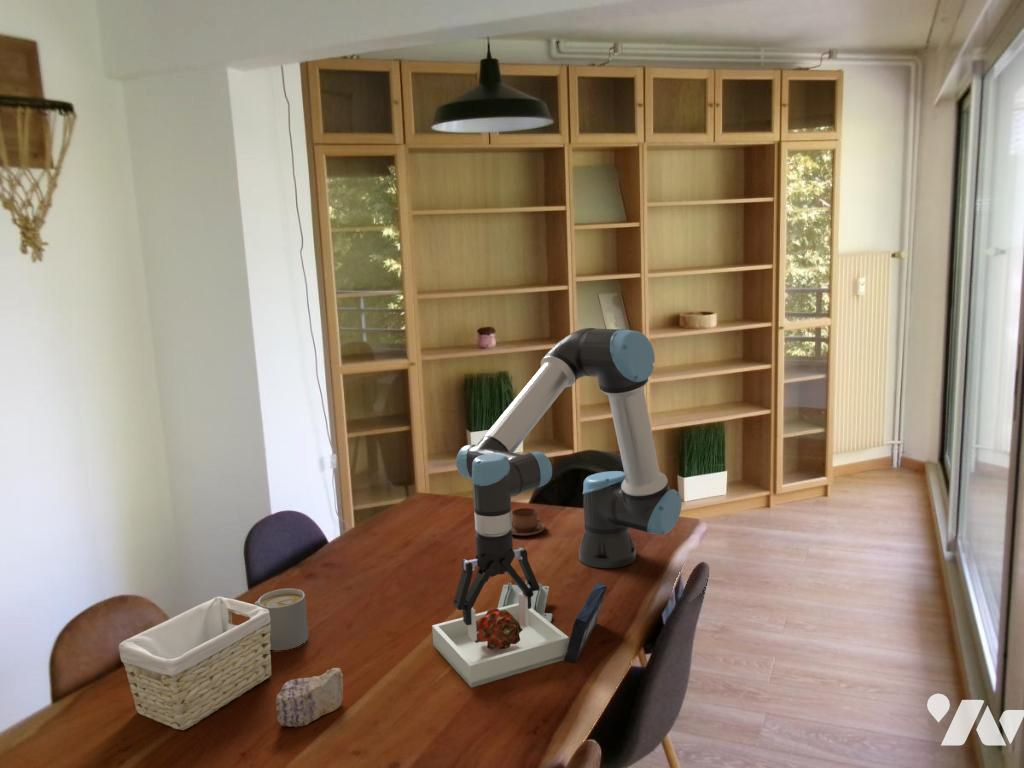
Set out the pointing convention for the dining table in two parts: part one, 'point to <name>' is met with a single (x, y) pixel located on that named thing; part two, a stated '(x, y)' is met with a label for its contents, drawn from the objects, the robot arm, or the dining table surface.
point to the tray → (487, 665)
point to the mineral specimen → (309, 698)
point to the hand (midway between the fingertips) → (498, 630)
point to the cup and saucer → (526, 522)
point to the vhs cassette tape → (585, 623)
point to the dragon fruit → (498, 629)
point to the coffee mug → (286, 617)
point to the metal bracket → (537, 600)
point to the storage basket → (197, 661)
